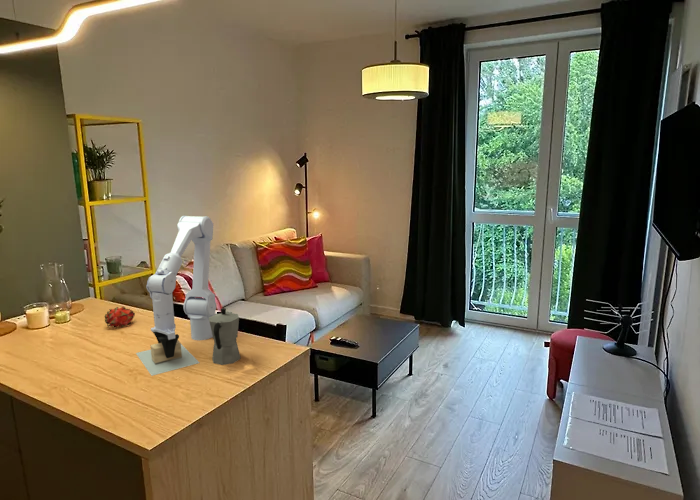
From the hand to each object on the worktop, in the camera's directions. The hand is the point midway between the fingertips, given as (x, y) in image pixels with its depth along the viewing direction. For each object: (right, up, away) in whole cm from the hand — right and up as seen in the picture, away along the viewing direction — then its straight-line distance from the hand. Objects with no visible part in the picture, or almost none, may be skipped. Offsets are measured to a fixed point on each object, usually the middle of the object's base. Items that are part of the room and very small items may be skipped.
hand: (167, 354), depth 142 cm
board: (-1, -3, +1) cm, 3 cm away
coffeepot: (+18, -3, -1) cm, 19 cm away
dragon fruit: (-32, +3, +34) cm, 46 cm away
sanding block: (0, -2, 0) cm, 2 cm away
